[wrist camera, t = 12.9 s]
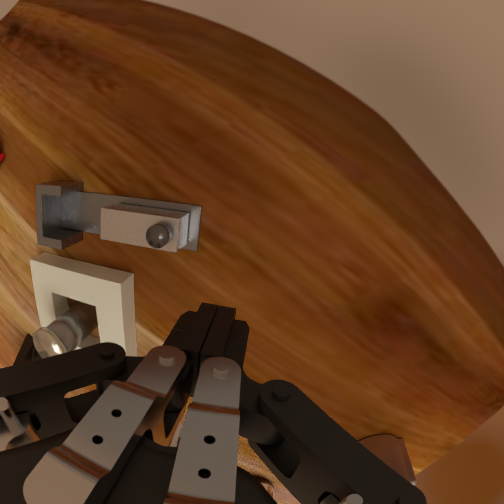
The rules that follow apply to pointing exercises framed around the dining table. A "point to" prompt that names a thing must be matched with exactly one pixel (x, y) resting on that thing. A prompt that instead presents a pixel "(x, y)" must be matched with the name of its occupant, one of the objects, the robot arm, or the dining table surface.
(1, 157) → the cap
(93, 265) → the socket
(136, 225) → the bolt
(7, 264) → the dining table surface
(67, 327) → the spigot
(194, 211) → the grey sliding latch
